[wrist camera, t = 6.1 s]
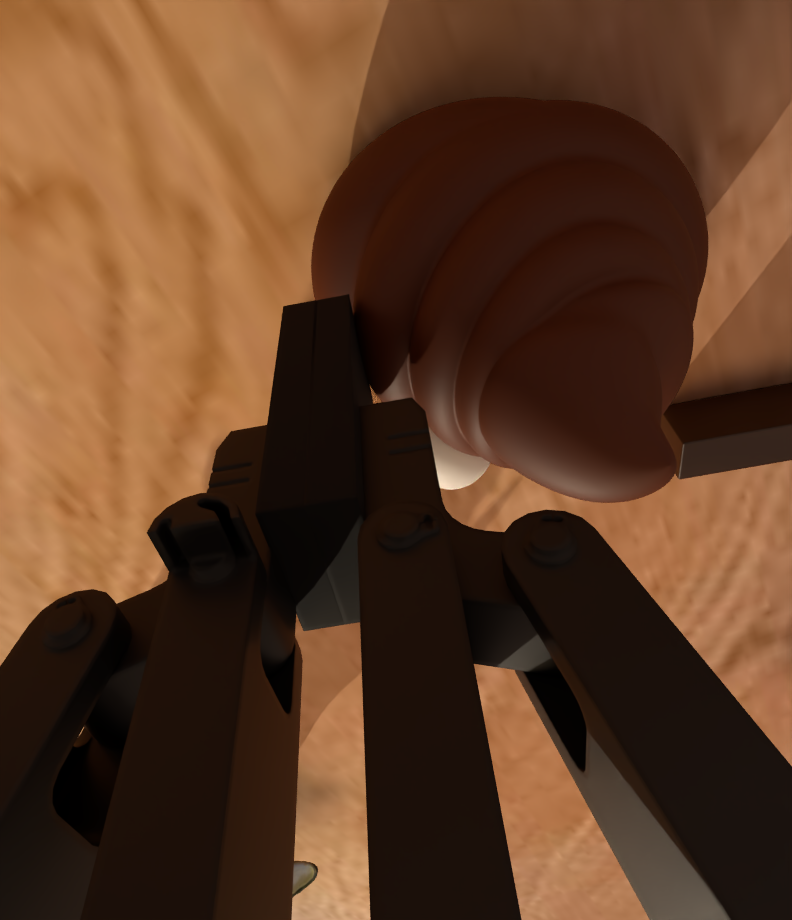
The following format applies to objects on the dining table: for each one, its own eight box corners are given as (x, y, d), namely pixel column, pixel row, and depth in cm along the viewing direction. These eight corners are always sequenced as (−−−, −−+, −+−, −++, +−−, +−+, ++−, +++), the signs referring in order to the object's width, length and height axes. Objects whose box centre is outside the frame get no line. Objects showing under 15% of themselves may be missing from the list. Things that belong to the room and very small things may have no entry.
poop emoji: (730, 97, 16) (1057, 242, 9) (628, 395, 21) (780, 639, 14) (310, 70, 15) (286, 209, 8) (314, 390, 20) (302, 649, 13)
